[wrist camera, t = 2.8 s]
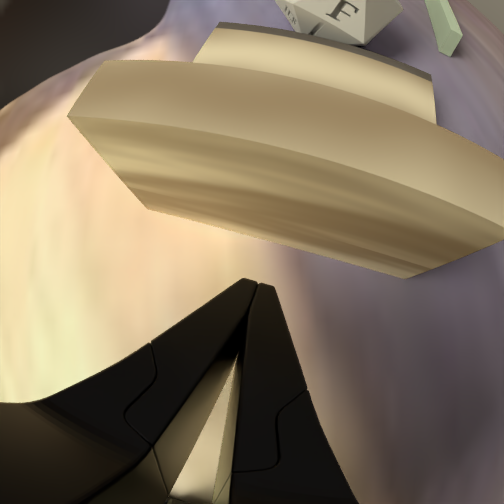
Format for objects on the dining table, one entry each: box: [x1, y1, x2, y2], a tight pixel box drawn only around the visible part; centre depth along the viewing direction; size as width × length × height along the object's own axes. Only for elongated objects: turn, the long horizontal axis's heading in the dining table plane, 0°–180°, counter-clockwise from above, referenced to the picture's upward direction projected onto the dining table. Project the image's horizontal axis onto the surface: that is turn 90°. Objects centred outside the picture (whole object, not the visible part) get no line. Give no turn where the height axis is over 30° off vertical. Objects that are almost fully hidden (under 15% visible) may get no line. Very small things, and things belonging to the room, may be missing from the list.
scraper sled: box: [67, 22, 504, 279], centre depth 12 cm, size 13×14×8 cm
